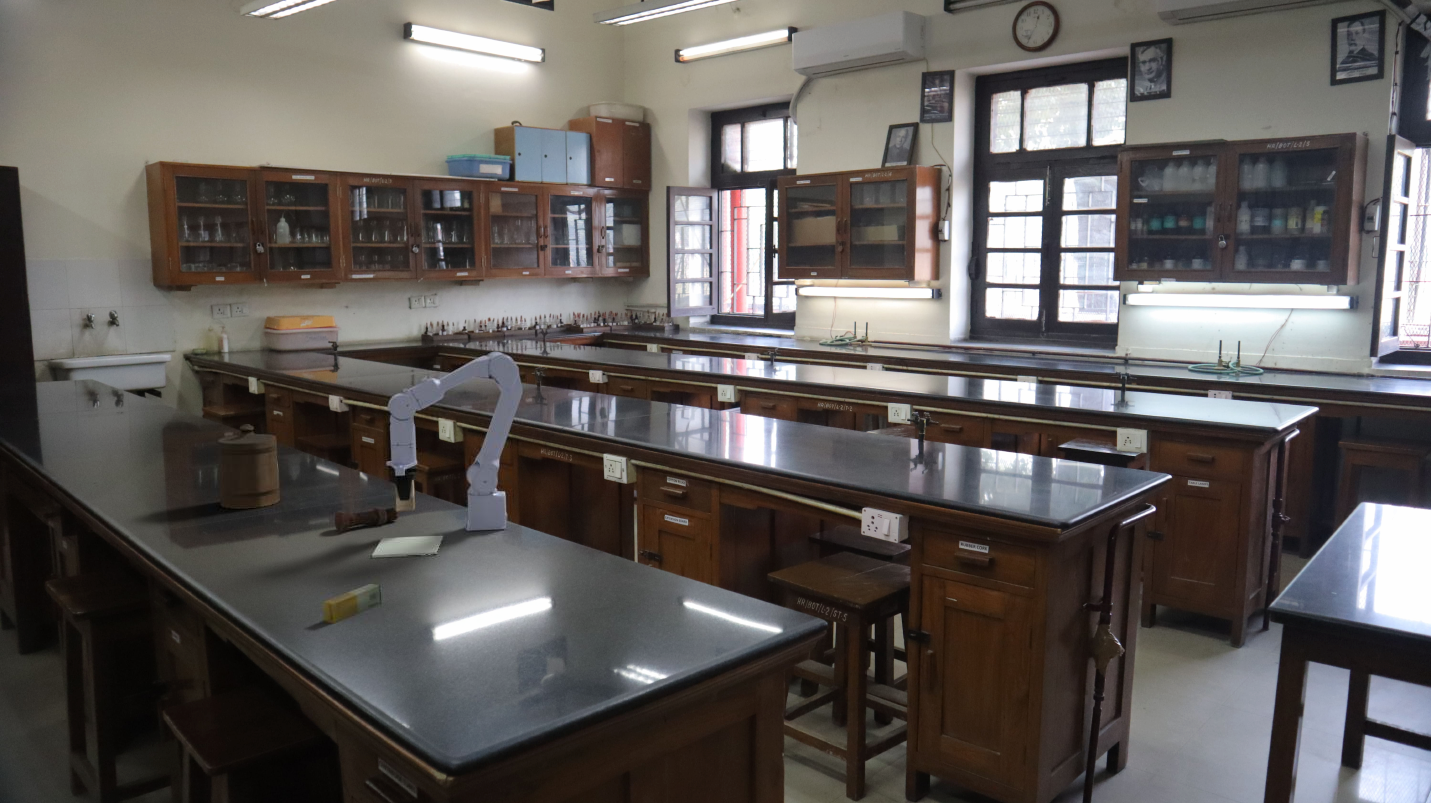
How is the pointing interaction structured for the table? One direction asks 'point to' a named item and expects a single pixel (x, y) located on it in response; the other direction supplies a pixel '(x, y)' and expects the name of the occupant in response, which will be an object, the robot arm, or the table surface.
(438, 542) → the board
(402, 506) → the slab
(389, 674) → the table surface
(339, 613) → the medication box
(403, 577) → the table surface
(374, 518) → the bolt
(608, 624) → the table surface
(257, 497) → the wooden container
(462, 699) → the table surface
